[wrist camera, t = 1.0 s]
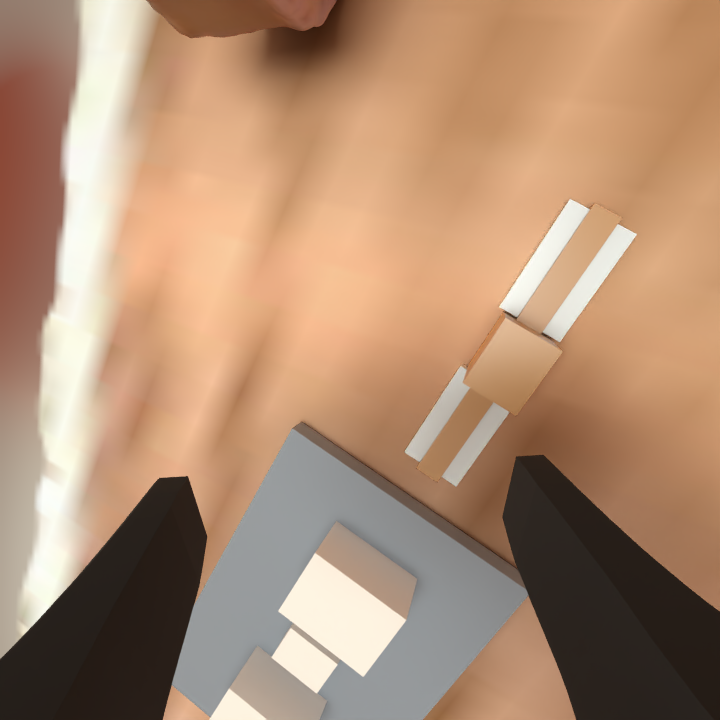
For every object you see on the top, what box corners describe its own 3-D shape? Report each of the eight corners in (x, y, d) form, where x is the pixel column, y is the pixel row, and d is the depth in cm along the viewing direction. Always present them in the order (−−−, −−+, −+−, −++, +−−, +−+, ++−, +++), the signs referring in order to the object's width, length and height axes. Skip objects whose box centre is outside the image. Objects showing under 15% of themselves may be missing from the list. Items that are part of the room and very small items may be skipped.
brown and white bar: (634, 231, 19) (670, 218, 15) (455, 483, 23) (447, 524, 19) (570, 197, 20) (589, 176, 16) (405, 449, 24) (387, 483, 20)
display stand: (528, 577, 23) (535, 639, 19) (341, 800, 28) (316, 884, 24) (301, 421, 25) (264, 447, 21) (169, 657, 31) (120, 713, 27)
